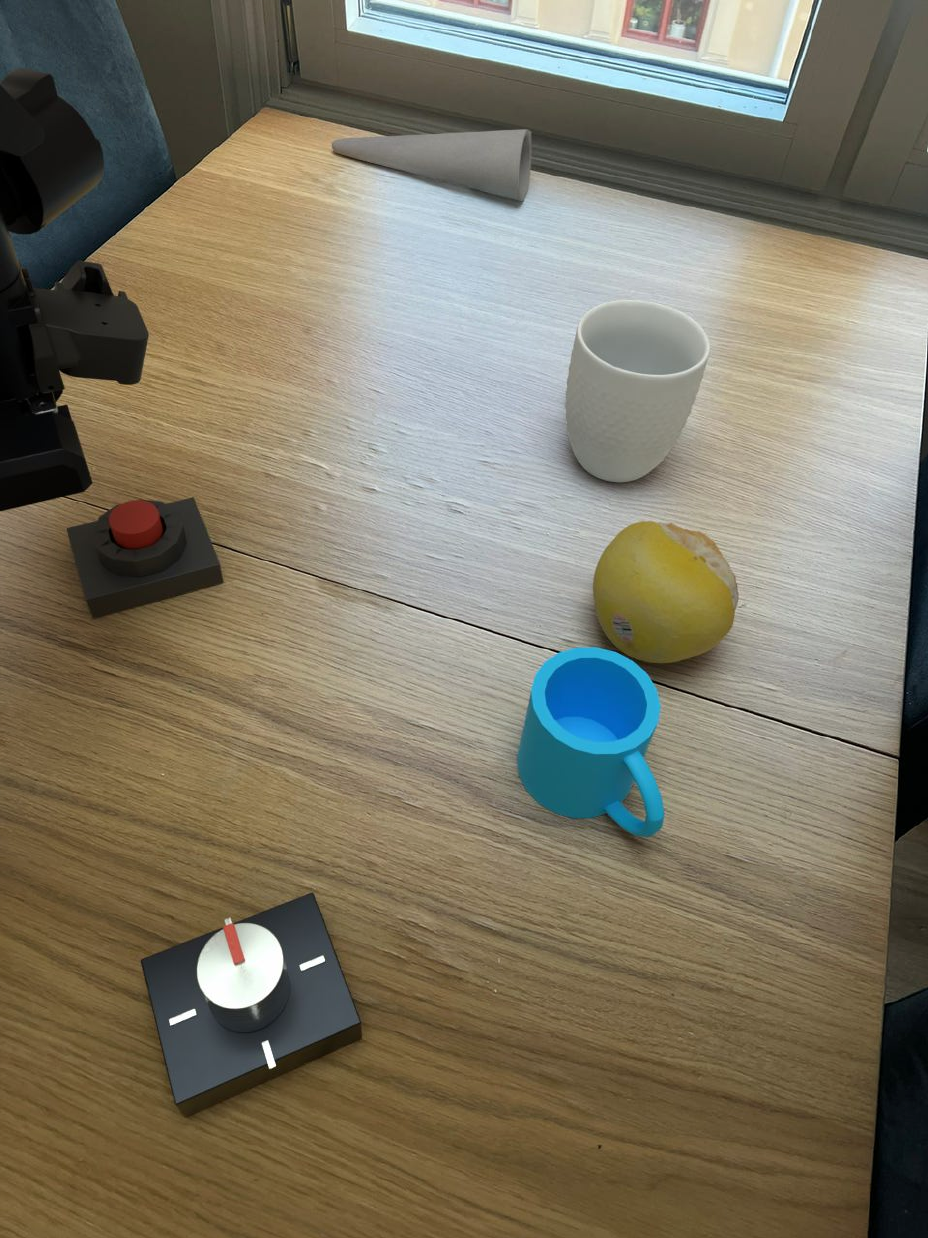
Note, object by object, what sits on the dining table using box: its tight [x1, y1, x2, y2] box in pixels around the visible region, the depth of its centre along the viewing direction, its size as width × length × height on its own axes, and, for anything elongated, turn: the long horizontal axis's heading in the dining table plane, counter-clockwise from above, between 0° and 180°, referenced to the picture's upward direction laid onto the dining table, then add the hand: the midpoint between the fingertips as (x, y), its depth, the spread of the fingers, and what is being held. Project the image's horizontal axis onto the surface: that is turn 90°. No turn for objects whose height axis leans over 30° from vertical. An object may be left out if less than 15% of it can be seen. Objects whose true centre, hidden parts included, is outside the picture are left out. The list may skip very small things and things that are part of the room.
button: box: [109, 499, 163, 550], centre depth 70 cm, size 4×4×2 cm
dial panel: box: [140, 892, 363, 1118], centre depth 52 cm, size 10×9×3 cm
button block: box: [65, 496, 224, 620], centre depth 72 cm, size 10×8×4 cm
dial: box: [196, 922, 290, 1032], centre depth 49 cm, size 4×4×4 cm
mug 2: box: [516, 646, 665, 838], centre depth 61 cm, size 12×8×8 cm
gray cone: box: [331, 128, 532, 202], centre depth 116 cm, size 8×9×26 cm
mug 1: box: [564, 299, 711, 483], centre depth 82 cm, size 15×11×13 cm
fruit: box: [592, 520, 740, 664], centre depth 69 cm, size 10×11×10 cm
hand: (45, 492), depth 61 cm, fingers closed
